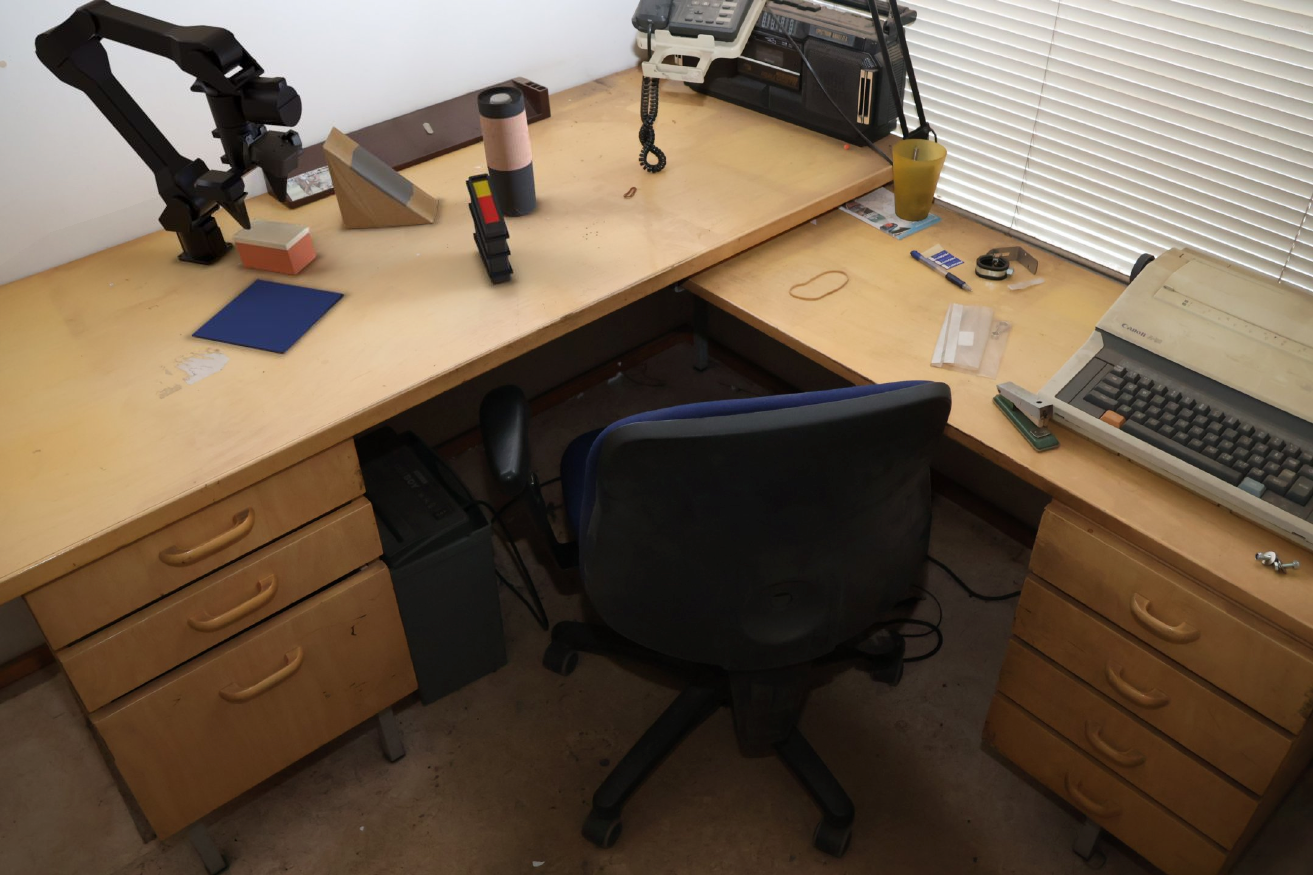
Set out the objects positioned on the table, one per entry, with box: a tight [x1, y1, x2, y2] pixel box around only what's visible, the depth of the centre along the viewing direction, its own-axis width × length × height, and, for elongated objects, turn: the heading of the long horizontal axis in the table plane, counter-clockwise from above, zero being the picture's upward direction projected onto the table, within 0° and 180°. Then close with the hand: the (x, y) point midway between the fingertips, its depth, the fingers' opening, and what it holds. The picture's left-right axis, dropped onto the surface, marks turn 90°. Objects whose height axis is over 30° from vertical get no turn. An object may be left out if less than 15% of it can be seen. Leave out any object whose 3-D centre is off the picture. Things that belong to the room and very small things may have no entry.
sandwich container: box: [322, 126, 439, 230], centre depth 170 cm, size 9×15×15 cm, turn 93°
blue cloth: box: [191, 278, 345, 355], centre depth 152 cm, size 16×16×1 cm
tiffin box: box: [231, 218, 317, 276], centre depth 163 cm, size 10×6×6 cm, turn 71°
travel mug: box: [476, 85, 537, 218], centre depth 169 cm, size 8×8×20 cm
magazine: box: [465, 172, 514, 285], centre depth 156 cm, size 4×13×15 cm
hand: (265, 215), depth 159 cm, fingers open, 9 cm apart
